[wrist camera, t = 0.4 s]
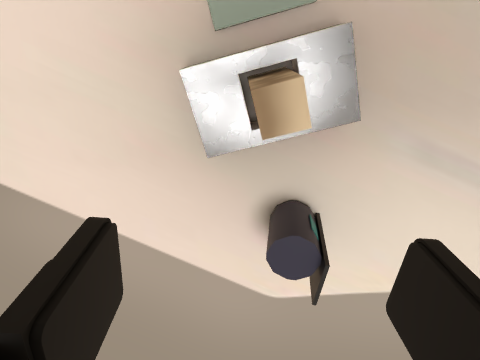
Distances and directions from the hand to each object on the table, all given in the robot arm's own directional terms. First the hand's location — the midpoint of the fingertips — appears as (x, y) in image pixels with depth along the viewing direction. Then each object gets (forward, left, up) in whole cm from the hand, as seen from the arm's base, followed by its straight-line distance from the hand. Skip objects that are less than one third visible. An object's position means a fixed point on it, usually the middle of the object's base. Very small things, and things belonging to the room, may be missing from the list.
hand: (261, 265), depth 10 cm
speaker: (-2, +16, -26) cm, 30 cm away
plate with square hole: (-3, -1, -25) cm, 26 cm away
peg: (-3, -1, -26) cm, 26 cm away
